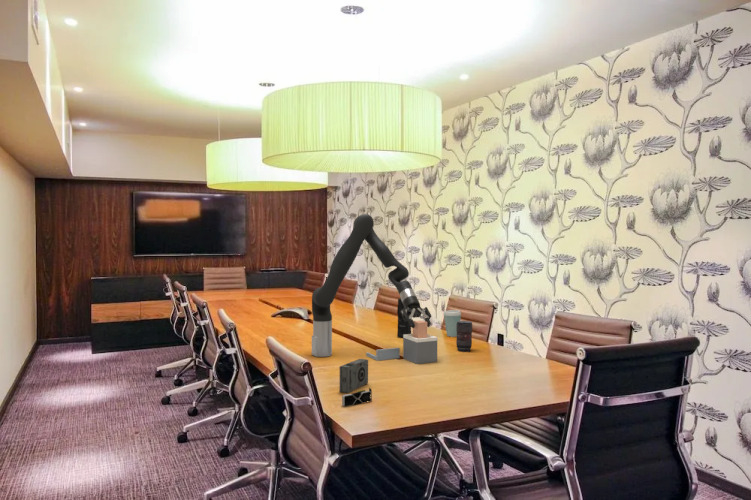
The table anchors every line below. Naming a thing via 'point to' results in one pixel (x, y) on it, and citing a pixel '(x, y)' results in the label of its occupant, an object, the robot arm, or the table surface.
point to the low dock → (385, 354)
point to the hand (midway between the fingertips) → (421, 326)
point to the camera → (353, 375)
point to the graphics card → (356, 397)
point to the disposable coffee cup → (451, 321)
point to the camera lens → (464, 336)
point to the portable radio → (402, 321)
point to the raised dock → (420, 349)
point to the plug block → (420, 329)
